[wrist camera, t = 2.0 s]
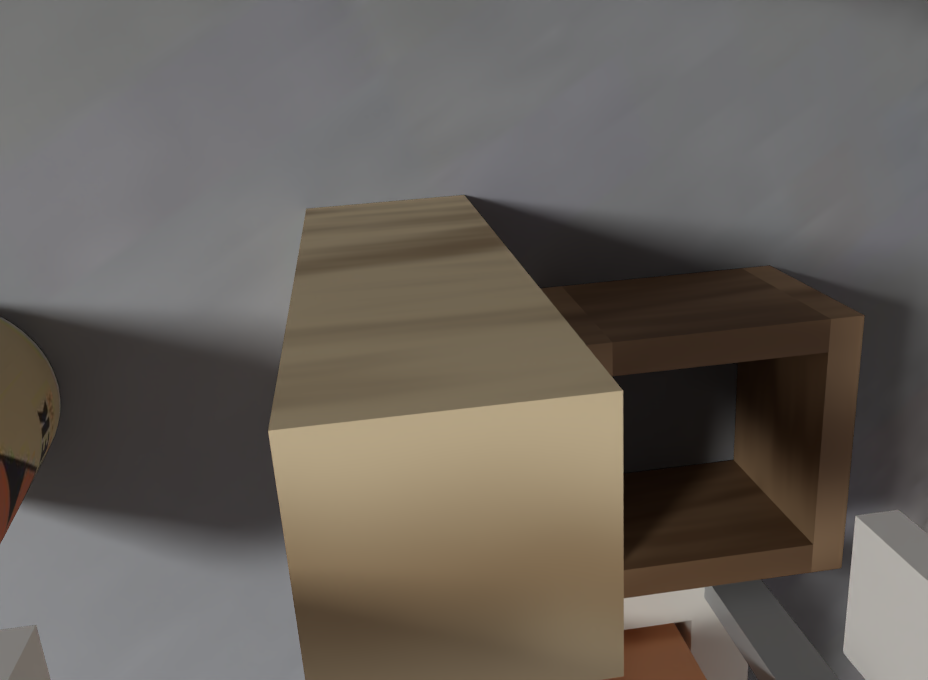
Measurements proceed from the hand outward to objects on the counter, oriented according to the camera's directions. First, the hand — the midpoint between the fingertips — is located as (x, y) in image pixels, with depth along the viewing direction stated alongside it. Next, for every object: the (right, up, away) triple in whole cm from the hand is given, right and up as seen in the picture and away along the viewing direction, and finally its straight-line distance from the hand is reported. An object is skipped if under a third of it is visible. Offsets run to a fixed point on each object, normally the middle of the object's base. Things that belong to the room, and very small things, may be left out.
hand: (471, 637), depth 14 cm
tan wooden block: (-3, +7, +20) cm, 22 cm away
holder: (+8, +3, +23) cm, 25 cm away
